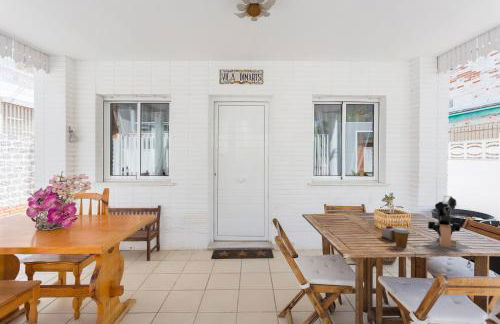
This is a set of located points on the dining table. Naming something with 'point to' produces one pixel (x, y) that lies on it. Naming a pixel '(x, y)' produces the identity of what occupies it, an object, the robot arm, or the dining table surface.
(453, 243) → the beige wooden cube
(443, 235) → the tan tall block
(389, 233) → the food item
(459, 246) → the mat
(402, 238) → the disposable coffee cup
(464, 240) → the dining table surface
